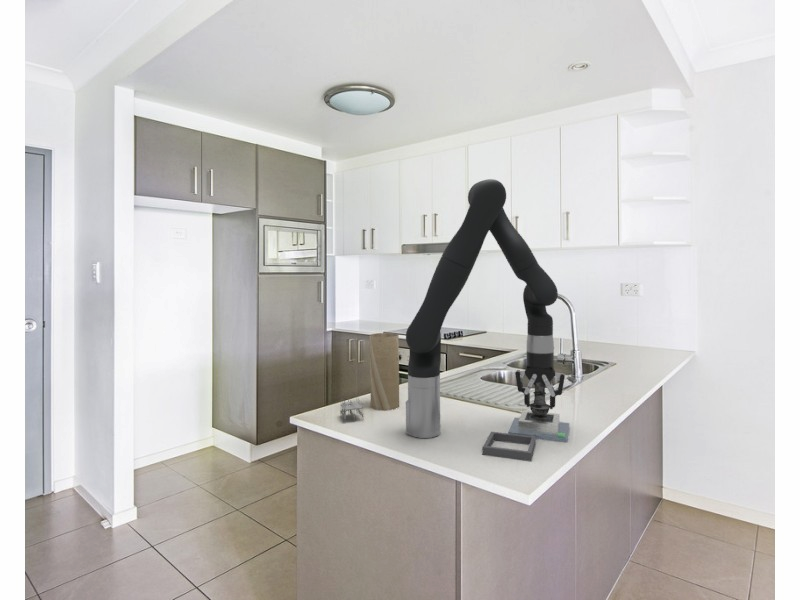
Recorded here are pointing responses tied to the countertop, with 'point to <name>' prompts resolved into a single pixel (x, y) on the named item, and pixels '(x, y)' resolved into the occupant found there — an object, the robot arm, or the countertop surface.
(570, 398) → the countertop surface
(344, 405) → the building frame
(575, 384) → the countertop surface
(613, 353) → the countertop surface
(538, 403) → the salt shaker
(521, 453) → the dark grey square frame
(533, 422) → the port panel
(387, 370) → the tube
